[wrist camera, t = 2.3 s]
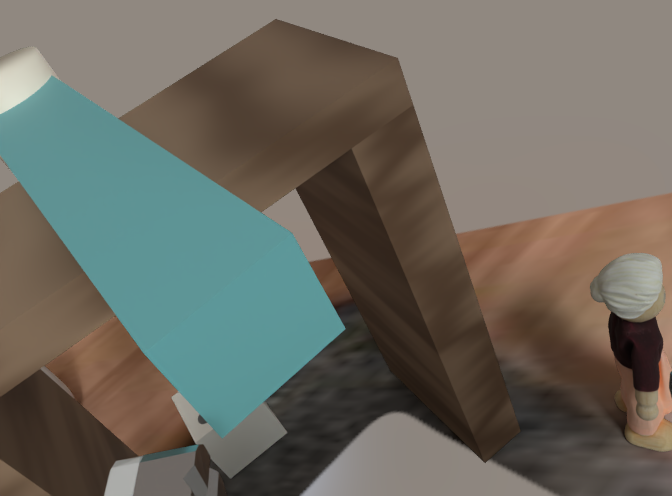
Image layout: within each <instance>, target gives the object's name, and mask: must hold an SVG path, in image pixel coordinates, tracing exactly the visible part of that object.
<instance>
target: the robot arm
mask: <svg viewBox="0 0 672 496" xmlns="http://www.w3.org/2000/svg"><path fill="white" fill-rule="evenodd" d="M669 389H670V393H671V398H672V371H671V372H670V380H669ZM104 496H227V492H226V489H225V486H224V482H223V480H222V478H221V476H220V474H219V472H218V471H216V470H214V469H212V468H210V454H209V453H208V451H207V449H206V448H205V446H204V444H199V445H193V446H188V447H183V448H178V449H173V450H168V451H162V452H157V453H152V454H147V455H143V456H138V457H133V458H128V459H123V460H119V461H116V462H115V463H114V465H113V466H112V468H111V470H110V472H109V477H108V481H107V485H106V489H105V493H104Z"/></svg>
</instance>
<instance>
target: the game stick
mask: <svg viewBox="0 0 672 496" xmlns="http://www.w3.org/2000/svg"><path fill="white" fill-rule="evenodd" d="M0 159H1V160H2V161H3V162H4V163H5V165H6V166H7V167H8V168H9V169H10V170H11V171H12V173H13V174H14V175H15V176H16V178H17V179H18V181H19V182H20V183H21V185H22V186H23V187H24V189H25V190H26V192H27V193H28V194H29V196H30V197H31V199H32V200H33V201H34V203H35V204H36V205H37V207H38V208H39V210H40V211H41V212H42V214H43V215H44V216H45V218H46V219H47V221H48V222H49V223H50V225H51V226H52V228H53V229H54V230H55V232H56V233H57V234H58V236H59V237H60V239H61V240H62V241H63V243H64V244H65V245H66V247H67V248H68V250H69V251H70V252H71V254H72V255H73V257H74V258H75V259H76V261H77V262H78V263H79V265H80V266H81V268H82V269H83V270H84V272H85V273H86V274H87V276H88V277H89V279H90V280H91V281H92V283H93V284H94V286H95V287H96V288H97V290H98V291H99V292H100V294H101V295H102V297H103V298H104V299H105V301H106V302H107V303H108V305H109V306H110V308H111V309H112V310H113V312H114V313H115V315H116V316H117V317H118V319H119V320H120V321H121V323H122V324H123V326H124V327H125V328H126V330H127V331H128V332H129V334H130V335H131V337H132V338H133V339H134V341H135V342H136V344H137V345H138V346H139V348H140V349H141V350H142V352H143V353H144V354H145V355H146V357H147V358H148V359H149V360H150V361H151V362H152V363H153V364H154V365H155V366H156V367H157V368H158V370H159V371H160V372H161V373H162V374H163V375H164V376H165V377H166V378H167V379H168V380H169V381H170V383H171V384H172V385H173V386H174V387H175V388H176V389H177V390H178V391H179V392H180V393H181V395H182V396H183V397H184V398H185V399H186V400H187V401H188V402H189V403H190V404H191V405H192V406H193V408H194V409H195V410H196V411H197V412H198V413H199V414H200V415H201V416H202V417H203V418H204V420H205V421H206V422H207V423H208V424H209V425H210V426H211V427H212V428H213V429H214V430H215V431H216V433H217V434H218V435H219V436H220V437H221V438H222V439H223V438H224V437H225V436H226V435H227V434H228V433H229V432H230V431H232V430H233V429H234V428H235V427H236V426H237V425H238V424H239V423H241V422H242V421H243V420H244V419H245V418H246V417H247V416H248V415H249V414H251V413H252V412H253V411H254V410H255V409H256V408H257V407H258V406H260V405H261V404H262V403H263V402H264V401H265V400H266V399H267V398H269V397H270V396H271V395H272V394H273V393H274V392H275V391H276V390H277V389H279V388H280V387H281V386H282V385H283V384H284V383H285V382H286V381H288V380H289V379H290V378H291V377H292V376H293V375H294V374H295V373H297V372H298V371H299V370H300V369H301V368H302V367H303V366H304V365H305V364H307V363H308V362H309V361H310V360H311V359H312V358H313V357H314V356H316V355H317V354H318V353H319V352H320V351H321V350H322V349H323V348H325V347H326V346H327V345H328V344H329V343H330V342H331V341H332V340H334V339H335V338H336V337H337V336H338V335H339V334H340V333H341V332H342V331H344V330H345V327H344V325H343V323H342V322H341V320H340V318H339V316H338V314H337V313H336V311H335V309H334V307H333V305H332V304H331V302H330V300H329V298H328V296H327V295H326V293H325V291H324V289H323V287H322V286H321V284H320V282H319V280H318V279H317V277H316V275H315V273H314V271H313V270H312V268H311V266H310V264H309V262H308V261H307V259H306V257H305V255H304V253H303V252H302V250H301V248H300V246H299V244H298V243H297V241H296V239H295V237H294V236H293V234H292V233H291V232H290V231H288V230H287V229H285V228H284V227H282V226H281V225H279V224H277V223H276V222H274V221H273V220H271V219H270V218H268V217H267V216H265V215H264V214H262V213H261V212H259V211H258V210H256V209H255V208H253V207H252V206H250V205H249V204H247V203H246V202H244V201H243V200H241V199H240V198H238V197H237V196H235V195H233V194H232V193H230V192H229V191H227V190H226V189H224V188H223V187H221V186H220V185H218V184H217V183H215V182H214V181H212V180H211V179H209V178H208V177H206V176H205V175H203V174H202V173H200V172H198V171H197V170H195V169H194V168H192V167H191V166H189V165H188V164H186V163H185V162H183V161H182V160H180V159H179V158H177V157H176V156H174V155H173V154H171V153H170V152H168V151H167V150H165V149H163V148H162V147H160V146H159V145H157V144H156V143H154V142H153V141H151V140H150V139H148V138H147V137H145V136H144V135H142V134H141V133H139V132H138V131H136V130H135V129H133V128H132V127H130V126H128V125H127V124H125V123H124V122H122V121H121V120H119V119H118V118H116V117H115V116H113V115H112V114H110V113H109V112H107V111H106V110H104V109H102V108H101V107H100V106H98V105H97V104H95V103H93V102H92V101H90V100H89V99H87V98H86V97H84V96H83V95H81V94H80V93H78V92H76V91H75V90H74V89H72V88H70V87H69V86H68V85H66V84H65V83H63V82H62V81H60V79H59V78H58V77H57V75H56V74H55V72H54V71H53V70H52V69H51V67H50V66H49V64H48V63H47V61H46V60H45V59H44V57H43V56H42V55H41V53H40V52H39V50H38V49H37V48H36V47H26V48H22V49H19V50H16V51H14V52H11V53H9V54H7V55H5V56H2V57H0Z"/></svg>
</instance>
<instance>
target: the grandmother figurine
mask: <svg viewBox="0 0 672 496" xmlns="http://www.w3.org/2000/svg"><path fill="white" fill-rule="evenodd" d="M662 278H663V275H662V265H661V262H660V260H659V259H658V258H656V257H655V256H653V255H650V254H646V253H631V254H627V255H623V256H620V257H618V258H617V259H615V260H613V261H611V262H610V263H609V264H608V265H606V266H605V267H604V268H603V269H602V270H601V272H600V273H599V275H598V276H597V277H595V278H594V280H593V281H592V282H591V285H590V290H591V296H592V298H593V299H594V300H595V301H597V302H604V303H605V304H606V306H607V308H608V309H609V310H610V311H611V314H610V317H609V323H608V328H609V335H610V342H611V349H612V351H613V352H614V356H615V362H616V366H617V369H618V372H619V374H620V376H621V389H620V390H618V391H617V393H616V394H615V402H616V405H617V407H618V408H619V409H620V410H622V411H624V412H627V421H628V423H627V424H626V426H625V437H626V439H627V440H628V441H629V442H630V443H631V444H634V445H636V446H640V447H644V448H648V449H652V450H656V451H661V452H664V451H670V450H672V423H671V422H670V421H668V420H666V419H664V416H665V415H666V414H668V413H670V412H672V398H671V393H670V389H669V380H670V372H671V371H672V369H671V366H670V364H669V362H668V359H667V357H666V355H665V352H664V350H663V338H662V335H661V333H660V331H659V328H658V324H657V320H656V317H655V316H657V315H658V314H659V312H660V311H661V310H662V308H663V306H664V303H665V290H664V287H663V285H662Z"/></svg>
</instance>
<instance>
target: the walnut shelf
mask: <svg viewBox="0 0 672 496" xmlns="http://www.w3.org/2000/svg"><path fill="white" fill-rule="evenodd" d="M118 119H119V120H121V121H122V122H124V123H125V124H127V125H128V126H130V127H132V128H133V129H135V130H136V131H138V132H139V133H141V134H142V135H144V136H145V137H147V138H148V139H150V140H151V141H153V142H154V143H156V144H157V145H159V146H160V147H162V148H163V149H165V150H167V151H168V152H170V153H171V154H173V155H174V156H176V157H177V158H179V159H180V160H182V161H183V162H185V163H186V164H188V165H189V166H191V167H192V168H194V169H195V170H197V171H198V172H200V173H202V174H203V175H205V176H206V177H208V178H209V179H211V180H212V181H214V182H215V183H217V184H218V185H220V186H221V187H223V188H224V189H226V190H227V191H229V192H230V193H232V194H233V195H235V196H237V197H238V198H240V199H241V200H243V201H244V202H246V203H247V204H249V205H250V206H252V207H253V208H255V209H256V210H258V211H259V212H262V211H264V210H265V209H267V208H268V207H269V206H271V205H272V204H274V203H275V202H277V201H278V200H279V199H281V198H282V197H284V196H285V195H287V194H288V193H289V192H291V191H292V190H294V189H295V188H296V190H297V192H298V194H299V196H300V198H301V200H302V202H303V203H304V205H305V207H306V209H307V211H308V213H309V215H310V217H311V219H312V221H313V223H314V225H315V227H316V229H317V231H318V232H319V234H320V236H321V238H322V240H323V242H324V244H325V246H326V248H327V250H328V252H329V253H330V255H331V257H332V259H333V261H334V263H335V265H336V267H337V269H338V271H339V273H340V275H341V277H342V279H343V280H344V282H345V284H346V286H347V288H348V290H349V292H350V294H351V296H352V298H353V300H354V302H355V304H356V305H357V307H358V309H359V311H360V313H361V315H362V317H363V319H364V321H365V323H366V325H367V327H368V329H369V330H370V332H371V334H372V336H373V338H374V340H375V342H376V344H377V346H378V348H379V350H380V352H381V354H382V355H383V357H384V359H385V361H386V363H387V365H388V367H389V369H390V371H391V372H392V373H393V374H394V375H395V376H397V377H398V378H399V379H400V380H401V381H402V382H403V383H404V384H405V385H406V386H407V387H408V388H409V389H410V390H411V391H412V392H413V393H414V394H415V395H416V396H417V397H418V398H419V399H420V400H421V401H422V402H423V403H424V404H425V405H426V406H427V407H428V408H429V409H430V410H431V411H432V412H433V413H434V414H435V415H436V416H437V417H438V418H439V419H440V420H442V421H443V422H444V423H445V424H446V425H447V426H448V427H449V428H450V429H451V430H452V431H453V432H454V433H455V434H456V435H457V436H458V437H459V438H460V439H461V440H462V441H463V442H464V443H465V444H466V445H467V446H468V447H469V448H470V449H471V450H472V451H473V452H474V453H475V454H476V455H477V456H478V457H479V458H480V459H481V460H482V461H483V462H485V463H486V462H487V461H488V460H489V459H490V458H491V457H492V456H493V455H494V454H496V453H497V452H498V451H499V450H500V449H501V448H502V447H503V446H505V445H506V444H507V443H508V442H509V441H510V440H511V439H512V438H513V437H515V436H516V435H517V434H518V433H519V432H520V428H519V425H518V422H517V419H516V416H515V412H514V409H513V406H512V403H511V400H510V397H509V394H508V391H507V388H506V385H505V382H504V379H503V376H502V373H501V370H500V367H499V364H498V361H497V358H496V355H495V352H494V349H493V346H492V343H491V340H490V337H489V334H488V331H487V327H486V324H485V321H484V318H483V315H482V312H481V309H480V306H479V303H478V300H477V297H476V294H475V291H474V288H473V285H472V282H471V279H470V276H469V273H468V270H467V267H466V264H465V261H464V258H463V255H462V252H461V249H460V245H459V242H458V239H457V236H456V233H455V230H454V227H453V225H452V221H451V218H450V215H449V212H448V209H447V206H446V203H445V200H444V197H443V194H442V191H441V188H440V185H439V182H438V179H437V176H436V173H435V170H434V167H433V163H432V161H431V157H430V154H429V152H428V149H427V145H426V142H425V139H424V136H423V133H422V130H421V127H420V124H419V121H418V118H417V115H416V112H415V109H414V106H413V103H412V100H411V97H410V94H409V91H408V88H407V85H406V82H405V79H404V75H403V72H402V69H401V66H400V63H399V61H398V58H396V57H393V56H390V55H386V54H383V53H380V52H377V51H374V50H371V49H368V48H365V47H361V46H358V45H355V44H352V43H349V42H346V41H343V40H340V39H337V38H334V37H330V36H327V35H324V34H321V33H318V32H315V31H311V30H309V29H305V28H302V27H299V26H296V25H293V24H290V23H287V22H284V21H280V20H277V19H275V20H273V21H272V22H270V23H269V24H267V25H266V26H264V27H263V28H261V29H260V30H258V31H256V32H255V33H253V34H251V35H250V36H248V37H247V38H245V39H244V40H242V41H240V42H239V43H237V44H236V45H234V46H232V47H231V48H229V49H228V50H226V51H224V52H223V53H221V54H220V55H218V56H216V57H215V58H214V59H212V60H210V61H209V62H207V63H206V64H204V65H202V66H201V67H199V68H197V69H196V70H194V71H193V72H191V73H190V74H188V75H186V76H185V77H183V78H182V79H180V80H178V81H177V82H175V83H174V84H172V85H171V86H169V87H167V88H166V89H164V90H163V91H161V92H160V93H158V94H157V95H155V96H153V97H152V98H150V99H148V100H147V101H145V102H144V103H142V104H141V105H139V106H137V107H136V108H134V109H133V110H131V111H129V112H128V113H126V114H125V115H123V116H122V117H120V118H118ZM114 316H115V313H114V312H113V310H112V309H111V308H110V306H109V305H108V303H107V302H106V301H105V299H104V298H103V297H102V295H101V294H100V292H99V291H98V290H97V288H96V287H95V286H94V284H93V283H92V281H91V280H90V279H89V277H88V276H87V274H86V273H85V272H84V270H83V269H82V268H81V266H80V265H79V263H78V262H77V261H76V259H75V258H74V257H73V255H72V254H71V252H70V251H69V250H68V248H67V247H66V245H65V244H64V243H63V241H62V240H61V239H60V237H59V236H58V234H57V233H56V232H55V230H54V229H53V228H52V226H51V225H50V223H49V222H48V221H47V219H46V218H45V216H44V215H43V214H42V212H41V211H40V210H39V208H38V207H37V205H36V204H35V203H34V201H33V200H32V199H31V197H30V196H29V194H28V193H27V192H26V190H25V189H24V187H23V186H22V185H21V183H20V182H17V183H15V184H14V185H12V186H11V187H9V188H8V189H6V190H4V191H3V192H1V193H0V496H104V493H105V489H106V485H107V481H108V477H109V472H110V470H111V468H112V466H113V465H114V463H115V462H116V461H119V460H123V459H128V458H133V457H138V455H137V454H135V453H134V452H133V451H132V450H131V449H130V448H129V447H128V446H126V445H125V444H124V443H123V442H122V441H121V440H120V439H119V438H117V437H116V436H115V435H114V434H113V433H112V432H111V431H110V430H108V429H107V428H106V427H105V426H104V425H103V424H102V423H101V422H99V421H98V420H97V419H96V418H95V417H94V416H93V415H92V414H90V413H89V412H88V411H87V410H86V409H85V408H84V407H83V406H82V405H80V404H79V403H78V402H77V401H76V400H75V399H74V398H73V397H71V396H70V395H69V394H68V393H67V392H66V391H65V390H64V389H62V388H61V387H60V386H59V385H58V384H57V383H56V382H55V381H53V380H52V379H51V378H50V377H49V376H48V375H47V374H46V373H44V372H43V371H42V370H41V368H42V367H43V366H45V365H46V364H48V363H49V362H50V361H52V360H53V359H55V358H56V357H58V356H59V355H60V354H62V353H63V352H65V351H66V350H67V349H69V348H70V347H72V346H73V345H74V344H76V343H77V342H79V341H80V340H82V339H83V338H84V337H86V336H87V335H89V334H90V333H91V332H93V331H94V330H96V329H97V328H99V327H100V326H101V325H103V324H104V323H106V322H107V321H108V320H110V319H111V318H113V317H114Z"/></svg>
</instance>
